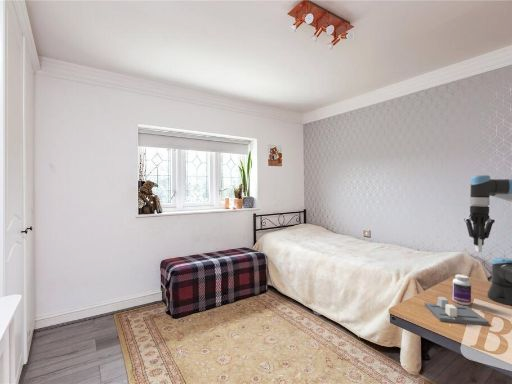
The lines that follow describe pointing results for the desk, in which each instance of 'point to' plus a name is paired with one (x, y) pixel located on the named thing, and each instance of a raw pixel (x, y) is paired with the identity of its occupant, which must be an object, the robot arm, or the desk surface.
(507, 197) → the robot arm
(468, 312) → the panel
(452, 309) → the fader ivory
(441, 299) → the fader grey
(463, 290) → the pill bottle
